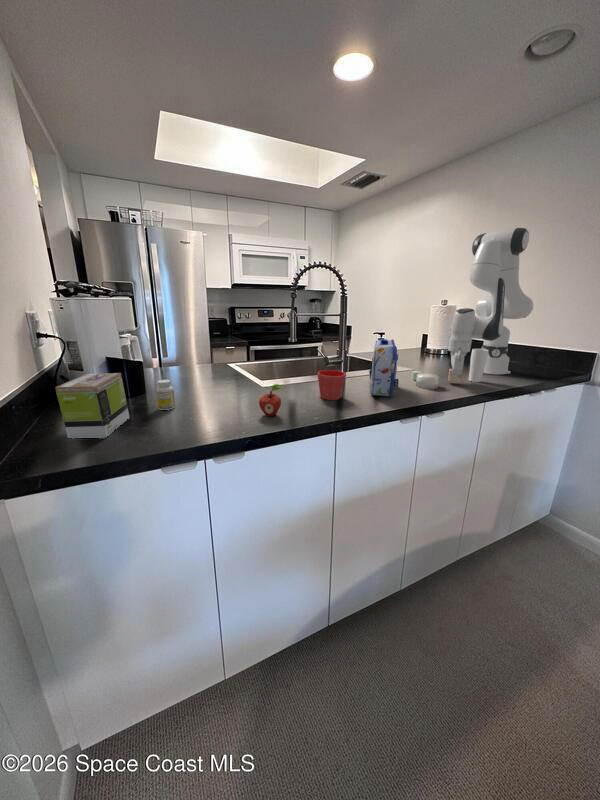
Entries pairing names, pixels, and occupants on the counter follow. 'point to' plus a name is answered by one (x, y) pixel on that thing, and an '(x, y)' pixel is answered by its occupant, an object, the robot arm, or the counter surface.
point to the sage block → (414, 374)
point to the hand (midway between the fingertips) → (454, 377)
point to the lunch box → (384, 368)
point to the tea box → (93, 405)
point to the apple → (270, 402)
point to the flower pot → (331, 384)
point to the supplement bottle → (165, 395)
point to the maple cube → (450, 376)
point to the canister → (427, 380)
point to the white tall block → (477, 364)
